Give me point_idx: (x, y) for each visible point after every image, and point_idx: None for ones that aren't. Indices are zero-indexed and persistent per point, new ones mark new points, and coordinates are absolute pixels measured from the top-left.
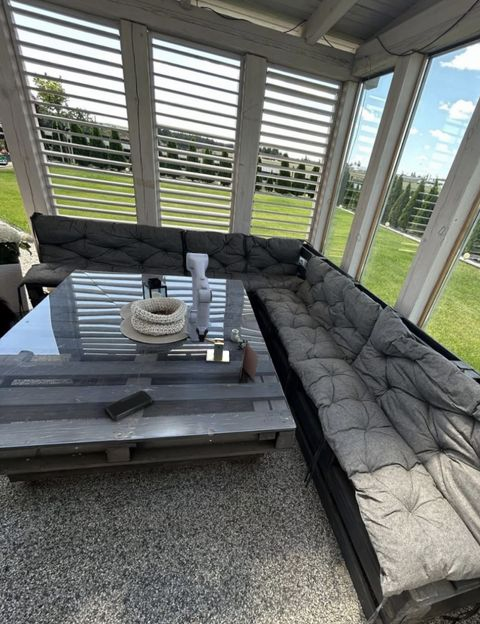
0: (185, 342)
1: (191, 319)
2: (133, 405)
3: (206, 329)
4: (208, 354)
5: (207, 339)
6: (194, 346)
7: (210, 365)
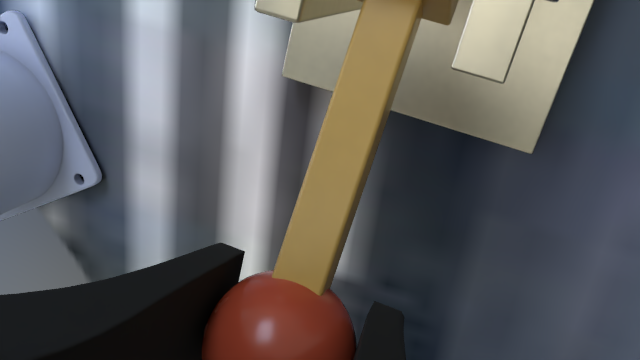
0: (106, 262)
1: None
2: None
3: (108, 339)
4: (398, 89)
5: (340, 229)
6: (178, 193)
7: (627, 107)
